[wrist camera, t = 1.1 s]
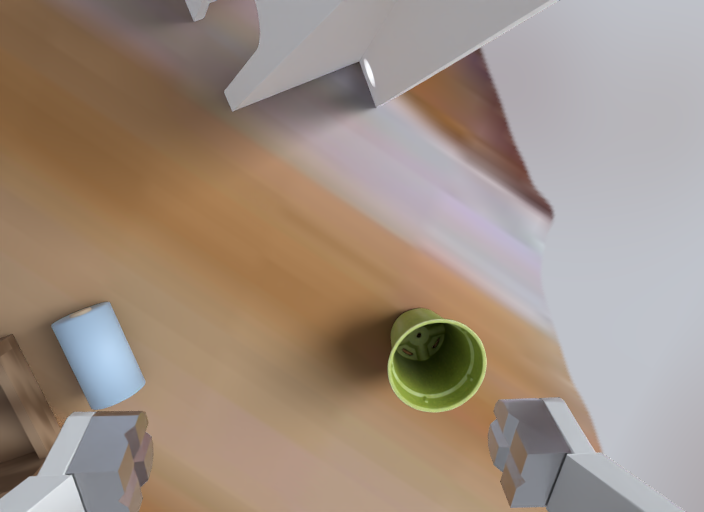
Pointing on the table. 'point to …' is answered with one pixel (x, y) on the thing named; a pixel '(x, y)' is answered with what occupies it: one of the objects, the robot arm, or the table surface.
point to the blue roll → (99, 355)
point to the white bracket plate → (366, 41)
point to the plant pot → (434, 361)
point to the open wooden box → (21, 419)
